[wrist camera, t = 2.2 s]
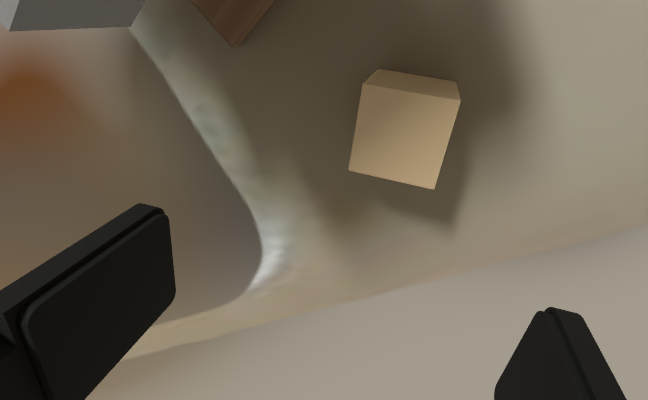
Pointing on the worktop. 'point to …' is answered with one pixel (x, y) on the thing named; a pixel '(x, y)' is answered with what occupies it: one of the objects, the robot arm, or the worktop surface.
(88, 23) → the trapdoor
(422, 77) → the tan block
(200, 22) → the worktop surface
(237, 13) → the stand
